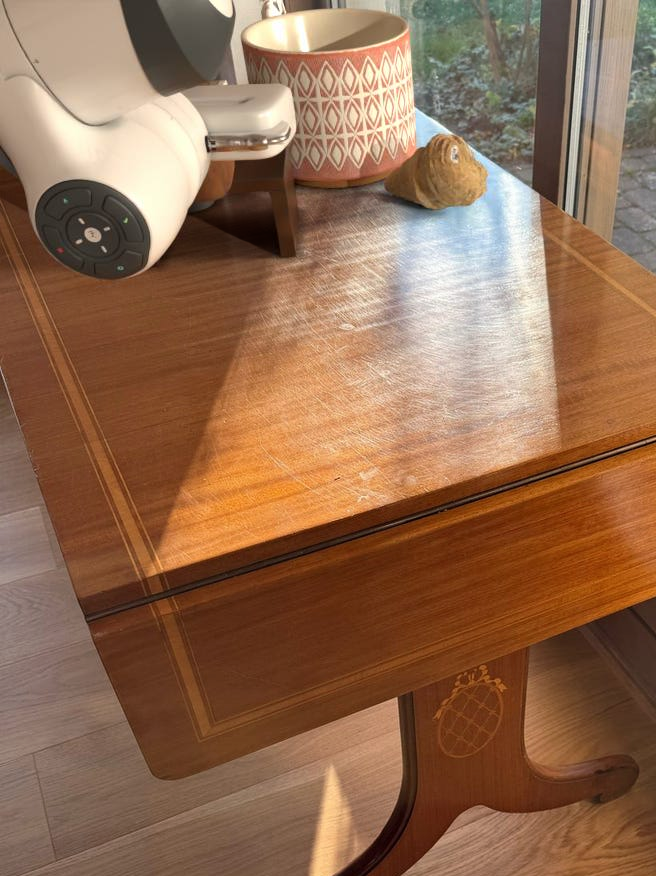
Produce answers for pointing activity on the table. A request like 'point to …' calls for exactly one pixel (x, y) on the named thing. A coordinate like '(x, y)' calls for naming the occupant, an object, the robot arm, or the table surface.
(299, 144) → the planter
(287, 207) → the miniature wooden bench
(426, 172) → the seashell
